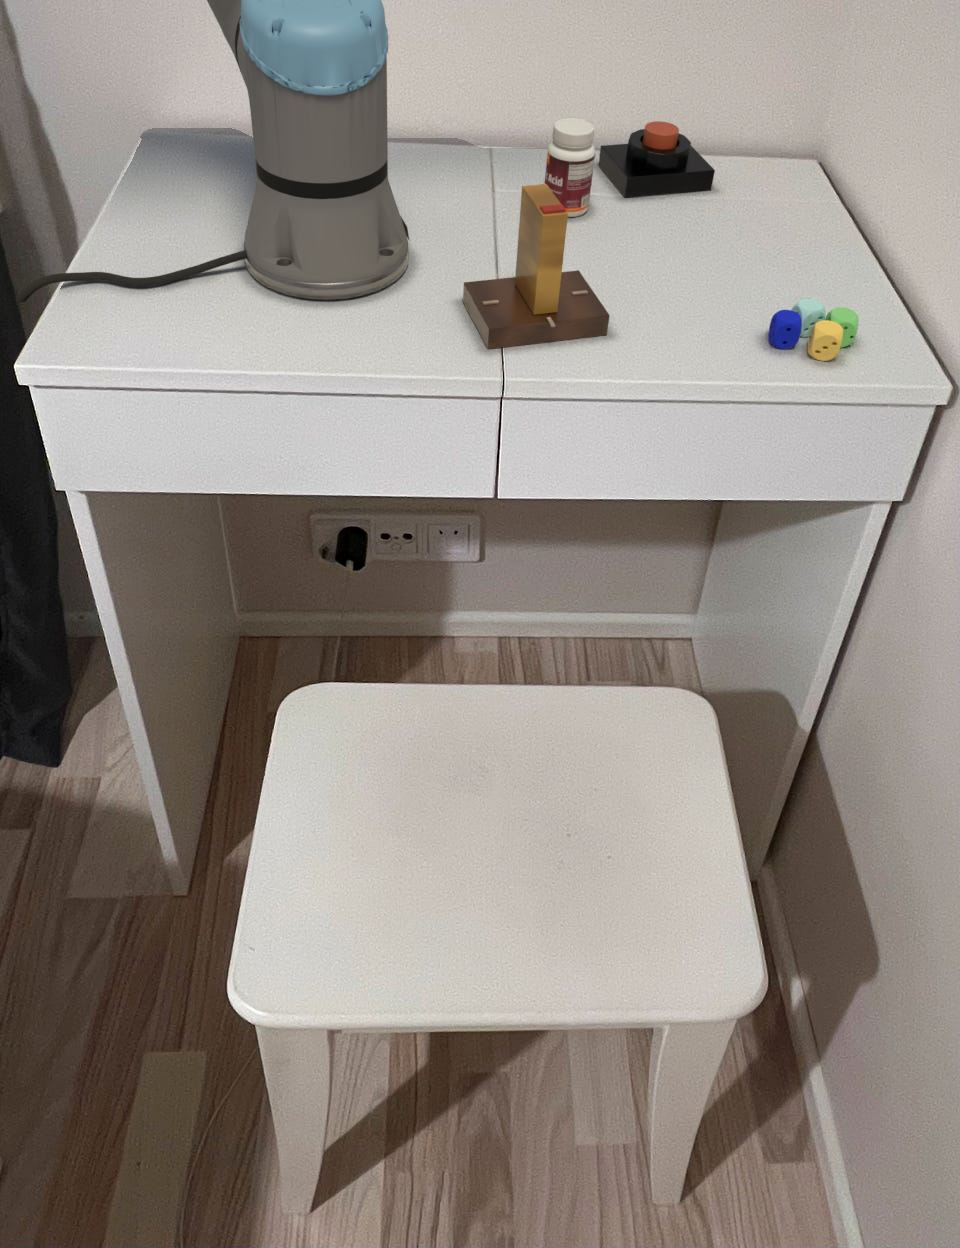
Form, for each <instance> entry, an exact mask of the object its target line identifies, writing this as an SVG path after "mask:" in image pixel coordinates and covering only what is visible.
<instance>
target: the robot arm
mask: <svg viewBox="0 0 960 1248" xmlns="http://www.w3.org/2000/svg"><path fill="white" fill-rule="evenodd" d="M206 1H207V4H208V5H209V7H210V10H211V12H212V13H213V16H214V17H215V20H216V21H217V23H218V26H219V27H220V29H221V32H222V35H223V36H224V38H225V40H226V42H227V44H228V46H229V48H230V50H231V51H232V54H233V57H234V59H235V61H236V63H237V66H238V70H239V72H240V74H241V77H242V79H243V82H244V85H245V87H246V90H247V91H246V92H247V95H248V101H249V110H250V118H251V119H250V120H251V130H252V131H251V132H252V140H253V141H252V142H253V151H254V159H255V168H256V169H255V170H256V184H255V189H254V194H253V198H252V202H251V207H250V211H249V215H248V219H247V224H246V228H245V232H244V241H243V250H241V251H237V252H234V253H231V254H227V255H224V256H220V257H217V258H214V259H211V260H209V261H206V262H203V263H199V264H197V265H193V266H190V267H187V268H183V269H180V270H176V271H173V272H169V273H165V274H160V275H156V276H155V275H154V276H148V277H131V276H125V275H120V274H116V273H110V272H105V271H84V272H62V273H54V274H48V275H45V276H43V277H40V278H38V279H35V280H34V281H33V282H31V283H29V284H28V285H27V286H26V287H24V289H23V290H22V291H21V292H20V293H19V295H18V296H17V297H16V299H15V301H14V302H15V303H16V304H22V303H23V304H24V303H25V302H27V301H28V299H29V298H30V297H31V296H32V295H33V294H34V293H35V292H37V291H38V290H39V289H42V288H43V287H46V286H48V285H52V284H57V283H63V282H64V283H66V282H67V283H69V282H87V281H88V282H89V281H104V282H111V283H115V284H119V285H124V286H131V287H150V286H159V285H163V284H167V283H171V282H175V281H179V280H182V279H185V278H189V277H192V276H196V275H199V274H202V273H205V272H207V271H211V270H214V269H216V268H219V267H223V266H226V265H229V264H232V263H237V262H239V261H242V260H244V261H245V266H246V269H247V271H248V272H249V274H250V275H251V277H252V278H254V279H255V280H256V281H257V282H258V283H260V284H262V285H263V286H265V287H266V288H268V289H271V290H273V291H276V292H278V293H281V294H284V295H286V296H287V295H288V296H291V297H295V298H302V299H308V300H309V299H310V300H323V301H324V300H325V301H327V300H343V299H351V298H357V297H362V296H365V295H369V294H373V293H376V292H378V291H381V290H382V289H385V288H387V287H388V286H390V285H391V284H393V283H395V282H397V280H398V279H399V278H400V277H402V275H403V274H404V273H405V271H406V269H407V268H408V264H409V240H410V235H409V228H408V226H407V224H406V222H405V221H404V219H403V217H402V215H401V214H400V211H399V207H398V205H397V202H396V199H395V196H394V193H393V190H392V187H391V184H390V181H389V166H388V163H389V161H388V160H389V159H388V155H389V154H388V153H389V152H388V151H389V150H388V148H389V147H388V145H389V143H388V140H389V139H388V58H387V55H388V54H389V44H390V43H389V33H388V31H389V30H388V27H387V24H386V14H385V7H384V4H383V1H382V0H206Z"/></svg>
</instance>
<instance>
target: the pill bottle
mask: <svg viewBox="0 0 960 1248" xmlns="http://www.w3.org/2000/svg"><path fill="white" fill-rule="evenodd" d="M594 136H595V126H594V125H593V123H592V122H590V121H588V120H586V119H582V118H577V117H564V118H559V119H558V120H556V121H555V122H554V123H553V129H552V140H551V141H550V143H549V144H548V147H547V153H546V164H545V174H544V175H545V176H544V184H547V185H548V187H549V188H550V190H551V191H552V192H553V194H554V195H555V196H556V198H557V199H558V200H559V202H560V203H561V204H562V205H563V206H564V208H565V209H566V211H567V213H568V218H574V217H580V216H583V215H584V214H586V212H587V211H588V210H589V205H590V197H591V189H592V183H593V175H594V166H595V160H596V148H595V146H594V144H593V142H594Z"/></svg>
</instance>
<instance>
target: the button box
mask: <svg viewBox="0 0 960 1248" xmlns="http://www.w3.org/2000/svg"><path fill="white" fill-rule="evenodd" d="M644 129H645V128H642V129H641V128H640V129H638V130H635V131H633V132H631V133H630V135H629V138H628V140H627V141H628V143H619V144H606V145H600V148H599V157H598V167H599V168H600V169H601V171H602V172H603V173H604V174H605V176H606V177H607V178H608V179H609V180H610V182H611V183H612V184H613V186H614V187H615V188H616V189H617V190H618V191H619V192H620V194H621V195H622V196H623V198H625V199H626V198H627V199H628V198H637V197H648V196H649V197H650V196H658V195H670V194H671V195H672V194H673V195H674V194H682V193H683V194H684V193H693V192H694V193H695V192H704V191H711V190H712V188H713V182H714V177H715V172H716V170H715V169H714V167H713V166H712V165H711V164H710V163H709V162H708V161H707V160H706V159H705V158H704V157H703V156H702V155H701V154H700V153H699V152H698V151H697V150H696V149H695V148H694V147H693V146H692V142H691V140H689V139H688V137H686V135H684V134H682V133H680V132H679V133H678V139H677V145H676V147H675V148H673V149H664V150H662V149H655V148H651V147H648V146H646V145H644V144H643V136H644Z"/></svg>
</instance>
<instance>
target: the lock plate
mask: <svg viewBox="0 0 960 1248" xmlns="http://www.w3.org/2000/svg"><path fill="white" fill-rule="evenodd" d="M462 292H463V294H462V303H463V305H464V307H465V309H466V311H467V312H468V314H469V316H470V318H471V320H472V322H473V325H474V326H475V328H476V329H477V332H478V333H479V335H480V337H481V340H482V341H483V343H484V345H485V346H486V349H487V350H493V349H494V350H495V349H500V348H501V349H502V348H511V347H518V346H526V345H535V344H543V343H552V342H561V341H569V340H577V339H585V338H595V337H601V336H608V330H609V329H608V328H609V322H610V313H609V312H608V311H607V309H606V308H605V307H604V305H603V303H602V302H601V301H600V299H599V298H598V296H597V295H596V293H595V292H594V290H593V289H592V287H591V286H590V285H589V283H588V282H587V280H586V279H585V277H584V276H583V274H582V273H581V272H580V270H569V271H562V274H561V283H560V292H559V302H558V311H557V312H555V313H546V314H538V315H534V314H533V313H532V311H531V309H530V308H529V306H528V304H527V303H526V301H525V299H524V298H523V296H522V295H521V293H520V291H519V290H518V288H517V286H516V285H515V276H513V277H511V276H510V277H502V278H493V279H492V278H491V279H483V280H475V281H474V280H473V281H464V282H463V289H462Z"/></svg>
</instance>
